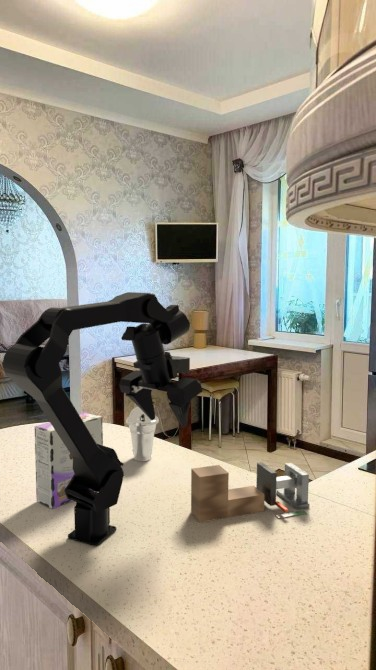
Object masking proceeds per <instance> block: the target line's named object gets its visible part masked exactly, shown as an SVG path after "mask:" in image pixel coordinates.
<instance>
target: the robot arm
mask: <svg viewBox="0 0 376 670" xmlns="http://www.w3.org/2000/svg"><path fill="white" fill-rule="evenodd" d="M121 322H122V323H136V324H137V323H138V324H139V325H137V326H129V325H128V326H127V325H126V328H125V331H124V332H123V333H122V336H121V340H122V341H131V343H132V348H133V349H134V350H133V351H134V354H135V359H136V361H134V362H133V366H134V368H135V370H134V371H132V372H130V373H129V374H127V375H125V376H123V377H121V378H120V380H119V383H118V386H119V387H118V388H119V389H120V392H121V393H124V394H125V396H126V397H128V398H129V399H130V400H131V401H132V402H133V403H134V404H135V405H136V407H137V406H138V407H139V408H140V409H141V410H142V411H143V412H144V413H145V414H146V415H147V416H148V417H149V418H150V420H153V419H155V415H156V411H155V407H154V401H153V397H152V391H161V392H166V397H167V399H168V400H169V401H170V402H168V406H169V407H170V410H171V411H172V412H173V414H174V417H175V419H176V420H177V422H178V423H179V426H180V427H181V428H183V429H184V428H186V427H187V425H188V419H189V412H190V406H191V402H192V401H193V399H195V397H197V396H198V395H200V394H201V393H202V392H203V388H202V384H201V380H198V379H197V378H190V377H185V376H183V377H182V378H180V379H179V380H177V381H176V382H174V381H172V379H176V378H178V377H179V375H178V374H184V373H186V374H189V373H190V370H191V368H190V367H191V365H190V363H191V358H190V357H187V356H186V357H185V356H178V355H177V356H176V355H172V354H171V352H170V351H165V348H164V345H169V344H171V343H172V342H174V341H176V340H177V339H180V338H181V337H182V336H184V335H186V334H187V333H189V331H190V327H191V325H190V324H191V323H190V320H189V319H188V317H187V315H186V314H185V313H184V312H183V311H181V310H180V308H179V305H178V304H170V305H168V306H166V307H165V306H164V305H162V304H161V303H160V302H159V300H158V298H157V295H156V294H154V293H151V292H135V291H134V292H131V291H127V292H125V293H122V294H119V295H116V296H114V297H113V298H111V299H110V300H108V301H101V302H95V303H88V304H87V303H86V304H79V305H73V306H65V307H49V308H48V309H45V310H44V311H43V312H42V313H41V315H40V316H39V318H38V319H37V320H36V321H35V322H34V323H33V324H31V326H30V327H28V328H27V329H26V330H24V332H23V333H22V334H21V335H20V336H19V337H18V339H17V340H16V342H15V343H14V344H13V345H11V346H9V348H8V349H7V350H6V351H5V353H4V356H3V359H2V360H3V361H2V362H1V364H2V365H1V367H2V369H3V371H4V373H5V374H6V376H7V377H9V378H10V379H11V380H12V382H14V384H16V385H17V387H18V388H20V389H22V390H23V391H24V392H25V393H27V394H28V396H30V397H32V398H33V399H34V400H35V401H36V403H37V404H38V406H39V407H40V409H41V411H42V412H43V413H44V415H45V417H46V418H47V420H48V422H50V423H51V424H52V426H53V428H54V429H55V431H56V432H57V434H58V435H59V437H60V438H61V440H62V441H63V443H64V444H65V446H66V447H67V449H68V451H69V452H70V454H71V455H72V457H73V471H74V473H75V474H74V476H73V477H72V479H71V480H70V482H69V484H68V485H67V487H66V488H65V490H64V491H65V494H66V497H67V499H69V500H72V501H71V502H75V505H74V507H73V510H74V529H73V530H72V531H71V532H69V533H68V534H67V539H69V540H70V539H71V540H74V541H77V542H81V543H84V544H88V545H92V546H99V545H100V544H101V543H103V542H104V541H105V540H106V539H108V538H109V537H110V536H111V535H112V534H114V533H115V531H117V526H114V525H111V524H110V523H111V521H110V519H111V518H110V511H111V507H113V506H115V505H118V501H119V498H120V494H121V490H122V489H121V488H122V485H123V480H124V476H125V472H124V469H123V466H124V462H122V461H121V460H120V459H119V457H118V454H117V452H116V450H115V449H114V448H111V447H108V446H105V445H104V444H103V445H100V444H97V443H96V442H95V440H94V439H93V437H92V435H91V434H90V432H89V430H88V429H87V427H86V425H85V424H84V422H83V420H82V419H81V417H80V415H79V414H80V413H79V412H78V411H77V409H76V408H75V406H74V404H73V402H72V401H71V399H70V398H69V395H68V394H67V393H66V391H65V389H64V387H63V370H62V368H61V365H60V362H61V361H62V359H63V357H64V356H65V354H66V353H67V349H68V345H69V338H70V336H71V335H72V332H73V331H76V330H81V329H87V328H93V327H94V328H95V327H98V326H99V327H100V326H103V325H109V324H115V323H121ZM46 341H47V342H46ZM45 342H46V343H45ZM44 343H45V345H44V346H41V345H42V344H44ZM138 369H139V370H138ZM90 489H92V490H90ZM93 490H94V491H93Z"/></svg>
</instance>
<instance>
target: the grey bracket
mask: <svg viewBox="0 0 376 670" xmlns="http://www.w3.org/2000/svg"><path fill="white" fill-rule="evenodd" d="M255 487H256V488H257V489H259V490H260V491H261V492H262V493H264V503H265V502H266V503H267V505H269V506H270V507H272V506H277V507H278V508H279V510H281V511H282V512H284V514H285V513H289V509H288V507H286V506H284V505H283V504H282V503H281V502H279V501H277V490H281V489H284V488H289V487H295V488H296V487H297V475H296V474H294V475H288V476H285V475H283V476H282V475H281V476H278V475H277V471H275V470H274V469H273V468H271V467H270V466H268V465H266V463H264V462H262V461H260V462H256V486H255Z"/></svg>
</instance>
